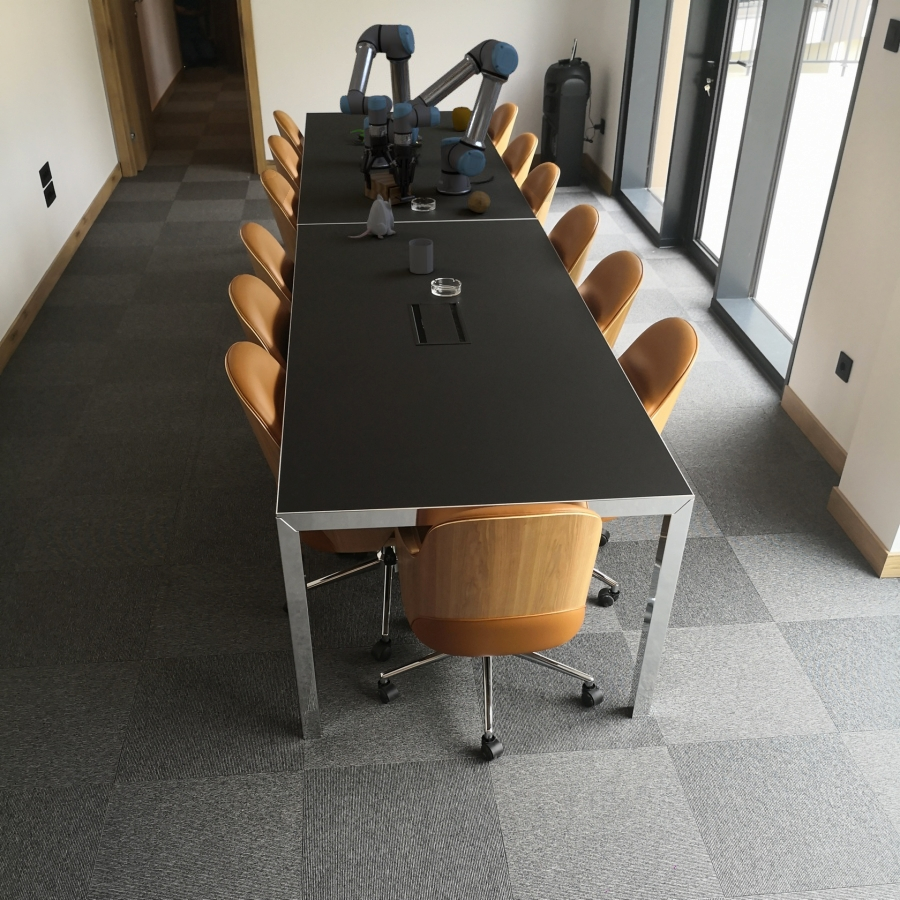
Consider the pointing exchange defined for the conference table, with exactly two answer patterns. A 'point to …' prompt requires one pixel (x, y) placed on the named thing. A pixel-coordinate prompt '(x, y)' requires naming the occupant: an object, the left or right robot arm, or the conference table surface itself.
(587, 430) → the conference table surface
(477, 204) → the potato
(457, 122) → the apple
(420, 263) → the cup
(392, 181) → the cabinet
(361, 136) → the green leafy plant
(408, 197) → the drawer
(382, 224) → the toy
